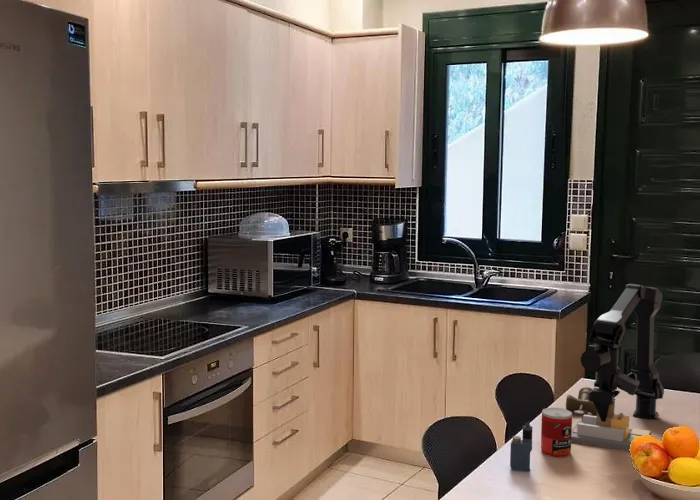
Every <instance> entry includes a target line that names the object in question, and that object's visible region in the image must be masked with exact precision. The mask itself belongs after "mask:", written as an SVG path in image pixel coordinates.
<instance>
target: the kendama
mask: <svg viewBox="0 0 700 500" xmlns="http://www.w3.org/2000/svg"><path fill="white" fill-rule="evenodd" d="M592 389H593V388H591V387H588V386H584V387H582V388H580V389H579V390H578V395H577V397H575V396H573V395H571V394H567V396H566V400H565V401H566V402H565V409H566V410H568V411H570V412H571V413H573V412H577V411H578V412H581V411H584V412H588V413H589V414H590V415H592V416H597V409H596V407H595V405H594V403H593V402H592V401H589V400H588V396H589V393H590V391H591V390H592Z"/></svg>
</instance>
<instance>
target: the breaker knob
mask: <svg viewBox="0 0 700 500" xmlns="http://www.w3.org/2000/svg"><path fill="white" fill-rule="evenodd" d="M611 428H617V429H624V432H623V439H626V438H627V436H628V434H629V429H630V415H624V412H620V413H619V414H617V413H614V415H613V417H612V419H611Z"/></svg>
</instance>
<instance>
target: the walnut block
mask: <svg viewBox="0 0 700 500" xmlns="http://www.w3.org/2000/svg"><path fill="white" fill-rule="evenodd" d="M615 404H616V400H615V401H614V402H613V403H612V404H610V405H609V409H608V414H607V418H606V421H605V422H602V421H601V419H600V417H599V414H598V412H597V418H596V425H597V426H603V427H610V428H611V419H612V417H613V415H614V414H615V408H616V405H615Z"/></svg>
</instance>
